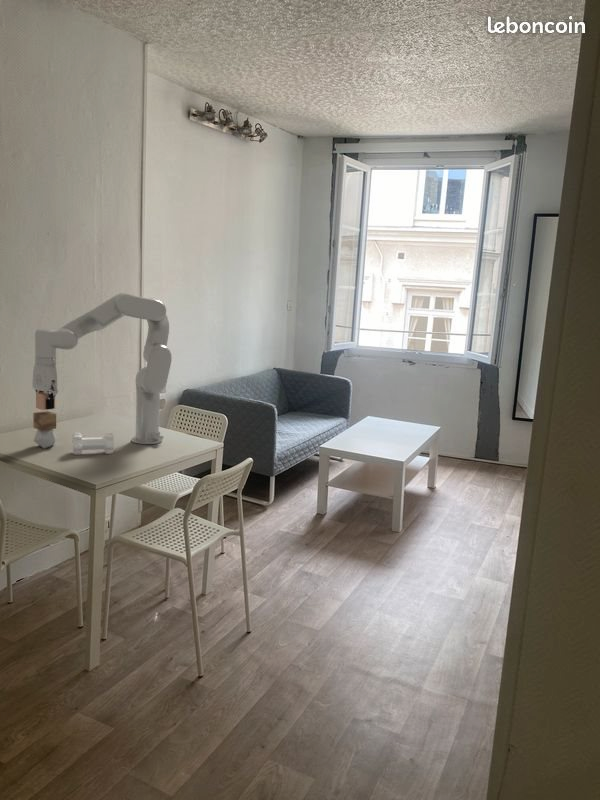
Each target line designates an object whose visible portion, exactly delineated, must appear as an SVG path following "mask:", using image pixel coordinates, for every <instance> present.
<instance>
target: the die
mask: <svg viewBox="0 0 600 800" xmlns="http://www.w3.org/2000/svg"><path fill="white" fill-rule="evenodd" d="M36 430H37V431H36V433H35V435H34V439H33V440H32V441H33V442H35V444H37V445H39V446H40V447H42V448H43V449H48V448H51V447H53V446H54V445H55V443H56V441H57V438H58V435H59V434H58V432H56V430H55V429H50V430H44V431H41V430H38V429H36Z"/></svg>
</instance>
